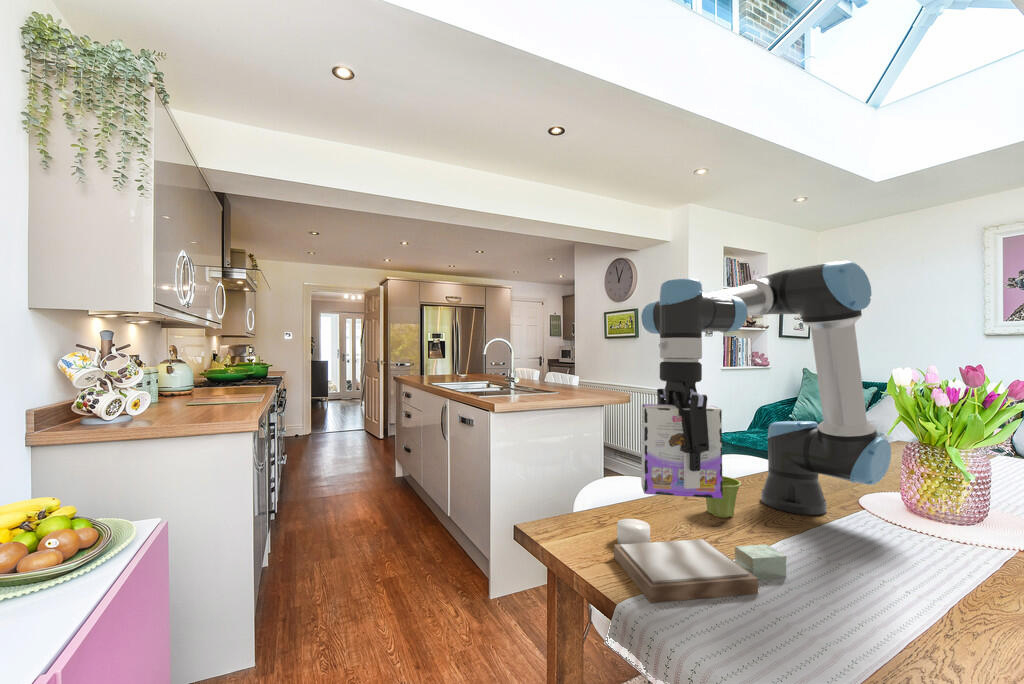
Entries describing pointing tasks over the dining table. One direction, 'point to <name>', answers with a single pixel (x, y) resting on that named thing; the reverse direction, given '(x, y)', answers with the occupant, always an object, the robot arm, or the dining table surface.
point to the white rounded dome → (632, 531)
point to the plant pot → (724, 499)
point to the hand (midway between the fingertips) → (680, 481)
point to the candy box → (678, 453)
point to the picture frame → (683, 570)
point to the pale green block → (761, 560)
